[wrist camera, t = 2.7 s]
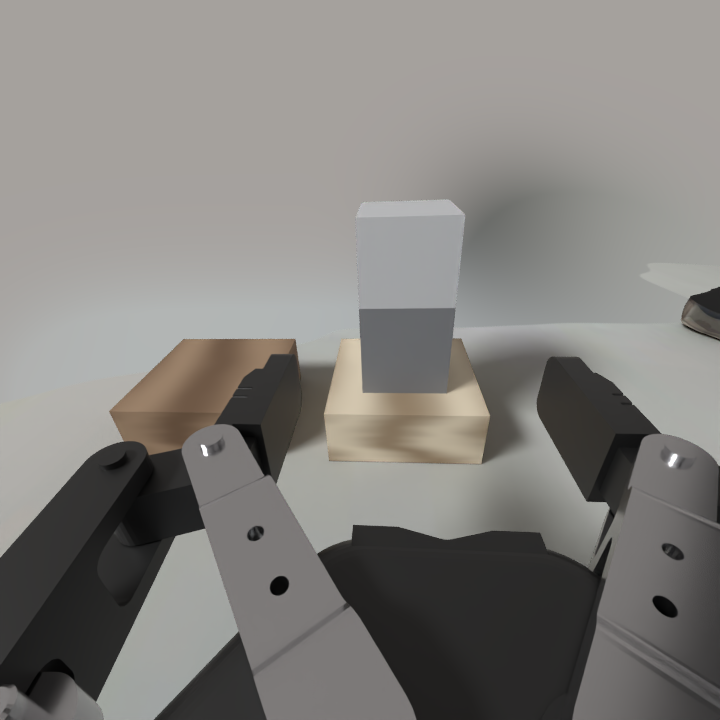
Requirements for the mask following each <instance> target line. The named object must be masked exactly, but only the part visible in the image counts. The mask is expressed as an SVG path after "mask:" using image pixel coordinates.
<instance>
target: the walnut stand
mask: <svg viewBox="0 0 720 720" xmlns="http://www.w3.org/2000/svg"><path fill="white" fill-rule="evenodd" d="M271 354H295V356H296V358H297V364H298V372H299V379H301V375H300V368H299V361H298V354H297V347H296V340H295V339H183V340H182V341H181V342H180V343H179V344H178V345H177V346H176V347H175V348H174V349H173V350H172V351H171V352H170V353H169V354H168V355H167V356H166V357H165V358H164V359H163V360H162V361H161V362H160V363H159V364H158V365H157V366H156V367H154V368H153V370H151V371H150V372H149V373H148V374H147V375H146V376H145V377H144V378H143V379H142V380H141V381H140V382H139V383H138V384H137V385H136V386H135V387H134V388H133V389H132V390H131V391H130V392H129V393H128V394H127V395H126V396H125V397H124V398H122V399H121V400H120V401H119V402H118V403H117V404H116V405H115V406H114V407H113V408H112V409H111V410H110V411H109V412H110V414H111V416H112V418H113V420H114V422H115V424H116V426H117V428H118V430H119V432H120V434H121V436H122V438H123V440H124V442H125V441H136V442H140V443H142V444H143V445H144V446H145V447H146V449H147V451H148V454H149V455H152V454H157V453H162V452H167V451H172V450H177V449H181V448H182V446H183V444H184V442H185V441H186V440H187V439H188V438H189V437H190V436H191V435H192V434H193V433H195V432H196V431H198V430H200V429H202V428H205V427H208V426H212V425H214V424H215V423H216V421H217V419H218V418H219V416H220V415H221V413H222V411H223V410H224V408H225V407H226V405H227V403H228V402H229V400H230V399H231V398H232V397H233V396H232V395H233V394H234V392H235V391H236V389H238V386H239V384H240V383H241V381H242V379H243V378H244V377H245V376H246V375H247V374H249V373H250V372H252V371H253V370H254V369H263V368H264V366H265V364H266V362H267V361H268V359H269V357H270V355H271Z"/></svg>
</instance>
